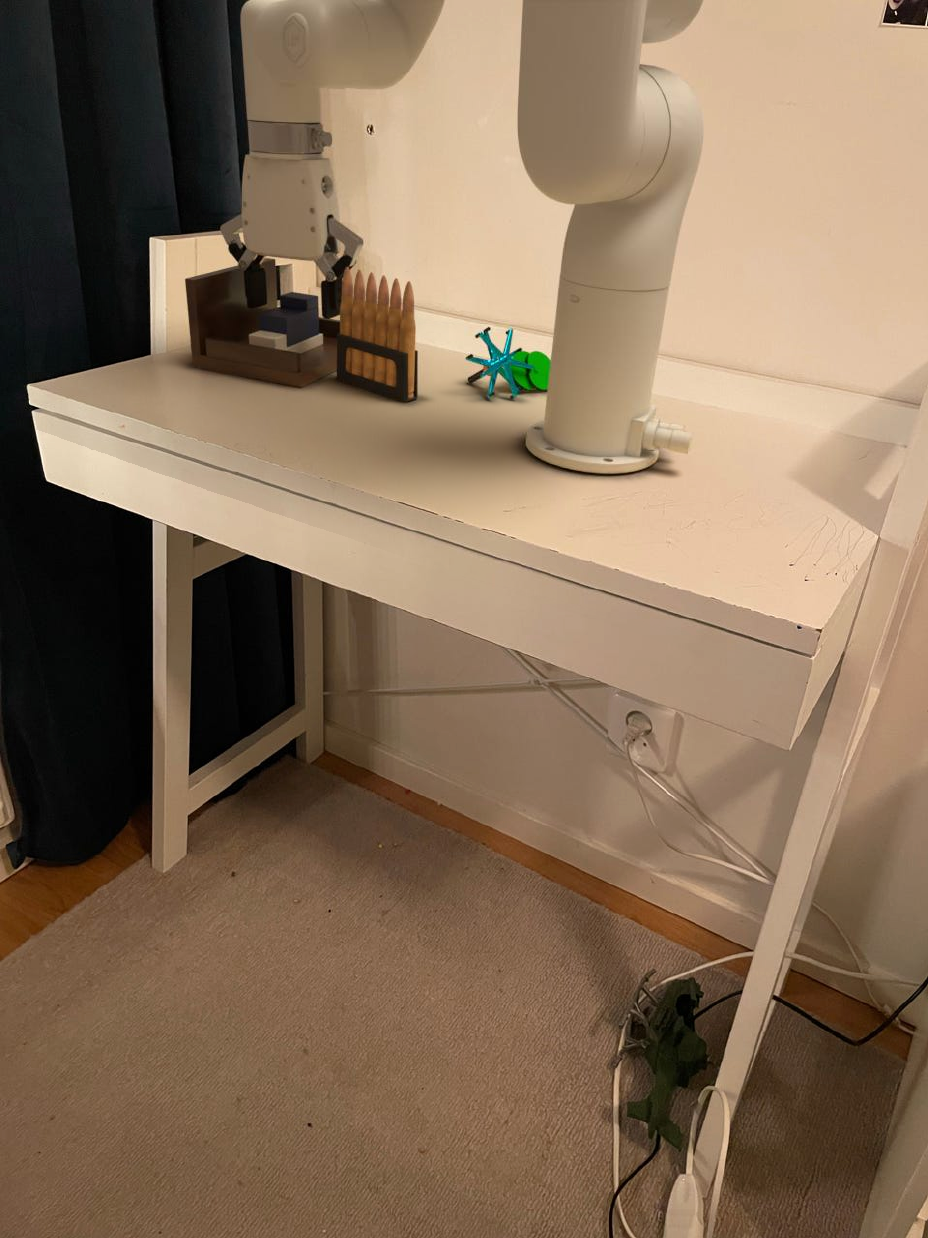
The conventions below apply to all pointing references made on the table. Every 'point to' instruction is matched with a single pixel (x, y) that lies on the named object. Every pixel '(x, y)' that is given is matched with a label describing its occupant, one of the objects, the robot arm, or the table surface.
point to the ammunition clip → (377, 338)
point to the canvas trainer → (290, 324)
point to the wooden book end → (249, 332)
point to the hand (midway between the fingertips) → (294, 311)
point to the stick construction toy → (512, 366)
